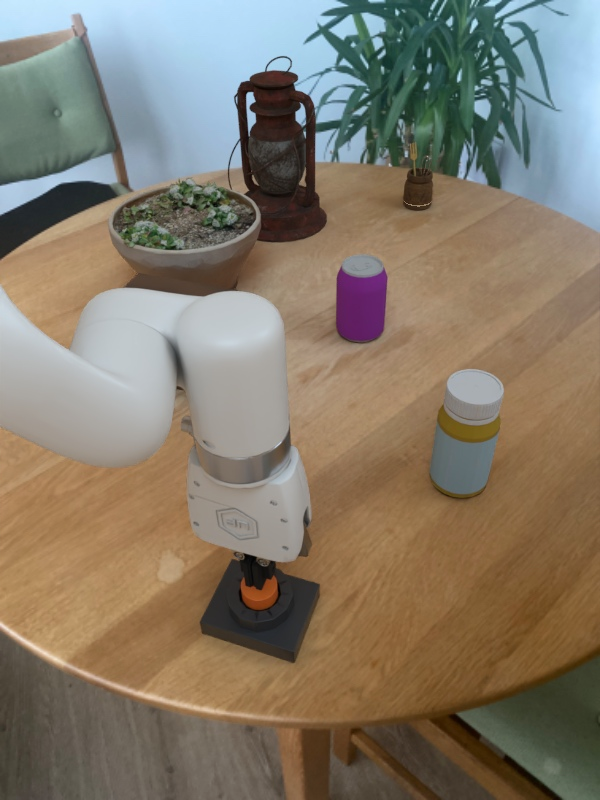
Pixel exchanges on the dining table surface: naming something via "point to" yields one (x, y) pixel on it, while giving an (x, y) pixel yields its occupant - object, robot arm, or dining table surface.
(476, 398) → the bottle
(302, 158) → the lantern
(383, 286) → the beverage can
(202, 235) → the planter
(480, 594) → the dining table surface
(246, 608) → the switch box
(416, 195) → the utensil holder
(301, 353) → the dining table surface
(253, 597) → the button
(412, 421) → the dining table surface
